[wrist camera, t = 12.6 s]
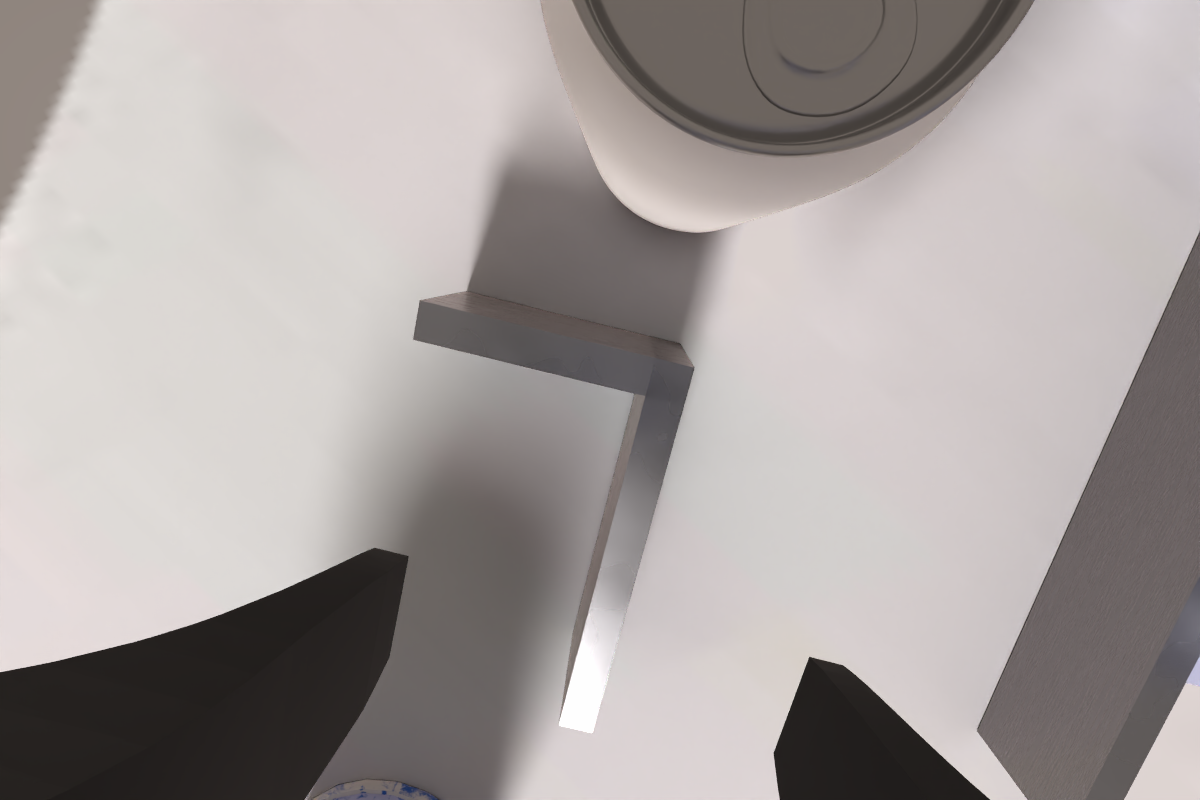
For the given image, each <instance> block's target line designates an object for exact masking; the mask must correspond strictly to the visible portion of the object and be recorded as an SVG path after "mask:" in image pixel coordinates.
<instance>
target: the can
mask: <svg viewBox="0 0 1200 800" xmlns="http://www.w3.org/2000/svg"><path fill="white" fill-rule="evenodd" d="M1033 2H1034V0H541V6H542V11H543V16H544V21H545V25H546V29H547V33H548V37H549V40H550V44H551V47H552V51H553V54H554V57H555V60H556V63H557V66H558V69H559V72H560V75H561V78H562V80H563V83H564V86H565V89H566V91H567V94H568V97H569V99H570V102H571V105H572V107H573V110H574V112H575V115H576V118H577V120H578V123H579V125H580V128H581V131H582V133H583V136H584V138H585V141H586V143H587V146H588V148H589V151H590V153H591V155H592V158H593V160H594V162H595V165H596V167H597V169H598V171H599V173H600V175H601V176H602V178H603V180H604V181H605V183H606V184H607V186H608V187H609V189H610V190H611V191H612V193H613V194H614V195H615V196H616V197H617V198H618V199H619V200H620V201H621V202H622V203H623V204H624V205H625V206H626V207H627V208H628V209H630V210H631V211H632V212H634V213H635V214H636V215H638V216H640V217H641V218H643V219H645V220H647V221H649V222H651V223H653V224H655V225H658V226H661V227H664V228H667V229H671V230H676V231H682V232H691V233H702V232H710V231H716V230H720V229H724V228H728V227H731V226H735V225H738V224H741V223H744V222H748V221H751V220H754V219H757V218H761V217H764V216H767V215H770V214H773V213H776V212H780V211H783V210H786V209H789V208H792V207H795V206H798V205H801V204H804V203H807V202H810V201H813V200H815V199H818V198H821V197H824V196H827V195H829V194H832V193H834V192H836V191H839V190H841V189H844V188H846V187H848V186H851V185H853V184H855V183H857V182H859V181H861V180H863V179H865V178H867V177H869V176H871V175H872V174H874V173H876V172H877V171H879V170H881V169H882V168H884V167H886V166H887V165H889V164H890V163H892V162H893V161H895V160H896V159H898V158H899V157H900V156H902V155H903V154H904V153H906V152H907V151H909V150H910V149H911V148H912V147H914V146H915V145H916V144H917V143H919V142H920V141H921V140H922V139H923V138H924V137H926V136H927V135H928V134H929V133H930V132H931V131H932V130H933V129H934V128H935V127H936V126H937V125H938V124H939V123H940V122H941V121H942V120H943V119H944V118H945V117H946V116H947V115H948V114H949V113H950V112H951V110H952V109H953V108H954V107H955V106H956V105H957V103H958V102H959V101H960V100H961V98H962V97H963V96H964V95H965V93H966V92H967V91H968V89H969V88H970V86H971V85H972V84H973V82H974V81H975V79H976V78H977V76H978V75H979V73H980V72H981V71H982V70H983V69H984V68H985V67H986V66H987V65H988V63H989V62H990V61H991V60H992V59H993V58H994V57H995V56H996V54H997V53H998V52H999V51H1000V50H1001V48H1002V47H1003V46H1004V45H1005V43H1006V42H1007V41H1008V39H1009V38H1010V37H1011V35H1012V34H1013V33H1014V31H1015V30H1016V29H1017V27H1018V26H1019V24H1020V23H1021V21H1022V20H1023V18H1024V17H1025V15H1026V13H1027V12H1028V10H1029V9H1030V7H1031V5H1032V4H1033Z"/></svg>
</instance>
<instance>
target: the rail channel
mask: <svg viewBox="0 0 1200 800" xmlns="http://www.w3.org/2000/svg"><path fill="white" fill-rule="evenodd" d="M413 340H417V341H421V342H425V343H430V344H434V345H438V346H442V347H446V348H450V349H454V350H458V351H462V352H466V353H470V354H475V355H479V356H483V357H487V358H491V359H495V360H499V361H503V362H507V363H511V364H515V365H519V366H524V367H528V368H532V369H536V370H540V371H544V372H548V373H552V374H556V375H560V376H564V377H569V378H573V379H577V380H581V381H585V382H589V383H593V384H597V385H601V386H605V387H609V388H614V389H618V390H622V391H626V392H630V393H634V394H635V395H634V399H633V402H632V406H631V410H630V414H629V418H628V422H627V426H626V430H625V433H624V437H623V441H622V445H621V449H620V453H619V457H618V460H617V464H616V468H615V472H614V476H613V480H612V484H611V487H610V491H609V495H608V499H607V503H606V507H605V511H604V514H603V518H602V522H601V526H600V530H599V534H598V538H597V542H596V545H595V549H594V553H593V557H592V561H591V565H590V569H589V572H588V576H587V580H586V584H585V588H584V592H583V596H582V599H581V603H580V607H579V611H578V615H577V619H576V623H575V626H574V630H573V635H572V641H571V648H570V654H569V661H568V668H567V674H566V681H565V687H564V694H563V701H562V707H561V714H560V720H559V725H560V726H564V727H568V728H572V729H576V730H580V731H585V732H589V733H593V730H594V726H595V723H596V719H597V715H598V712H599V708H600V705H601V701H602V697H603V694H604V690H605V687H606V683H607V680H608V676H609V672H610V669H611V665H612V662H613V658H614V654H615V651H616V647H617V644H618V640H619V637H620V633H621V629H622V626H623V622H624V619H625V615H626V611H627V608H628V604H629V601H630V597H631V594H632V590H633V586H634V583H635V579H636V576H637V572H638V568H639V565H640V561H641V558H642V554H643V551H644V547H645V543H646V540H647V536H648V533H649V529H650V525H651V522H652V518H653V515H654V511H655V508H656V504H657V500H658V497H659V493H660V490H661V486H662V482H663V479H664V475H665V472H666V468H667V465H668V461H669V457H670V454H671V450H672V447H673V443H674V439H675V436H676V432H677V429H678V425H679V422H680V418H681V414H682V411H683V407H684V404H685V400H686V396H687V393H688V389H689V386H690V382H691V379H692V375H693V371H694V366H693V364H692V363H691V361H690V359H689V358H688V356H687V354H686V353H685V351H684V349H683V348H682V346H681V344H679V343H675V342H671V341H667V340H663V339H659V338H655V337H651V336H647V335H643V334H639V333H635V332H631V331H626V330H622V329H618V328H614V327H610V326H606V325H602V324H598V323H594V322H590V321H586V320H582V319H578V318H573V317H569V316H565V315H561V314H557V313H553V312H549V311H545V310H541V309H537V308H533V307H529V306H525V305H520V304H516V303H512V302H508V301H504V300H500V299H496V298H492V297H488V296H484V295H480V294H476V293H472V292H467V291H465V292H460V293H455V294H450V295H445V296H440V297H434V298H429V299H424V300H420V302H419V308H418V314H417V320H416V326H415V332H414V338H413ZM1199 657H1200V235H1199V237H1198V239H1197V241H1196V243H1195V246H1194V248H1193V250H1192V252H1191V255H1190V257H1189V259H1188V261H1187V264H1186V266H1185V268H1184V270H1183V273H1182V275H1181V277H1180V279H1179V281H1178V284H1177V286H1176V288H1175V290H1174V293H1173V295H1172V297H1171V299H1170V302H1169V304H1168V306H1167V308H1166V310H1165V313H1164V315H1163V317H1162V319H1161V322H1160V324H1159V326H1158V328H1157V331H1156V333H1155V335H1154V337H1153V340H1152V342H1151V344H1150V346H1149V348H1148V351H1147V353H1146V355H1145V357H1144V360H1143V362H1142V364H1141V366H1140V369H1139V371H1138V373H1137V375H1136V377H1135V380H1134V382H1133V384H1132V386H1131V389H1130V391H1129V393H1128V395H1127V398H1126V400H1125V402H1124V404H1123V406H1122V409H1121V411H1120V413H1119V415H1118V418H1117V420H1116V422H1115V424H1114V427H1113V429H1112V431H1111V433H1110V436H1109V438H1108V440H1107V442H1106V444H1105V447H1104V449H1103V451H1102V453H1101V456H1100V458H1099V460H1098V462H1097V465H1096V467H1095V469H1094V471H1093V473H1092V476H1091V478H1090V480H1089V482H1088V485H1087V487H1086V489H1085V491H1084V494H1083V496H1082V498H1081V500H1080V503H1079V505H1078V507H1077V509H1076V511H1075V514H1074V516H1073V518H1072V520H1071V523H1070V525H1069V527H1068V529H1067V532H1066V534H1065V536H1064V538H1063V540H1062V543H1061V545H1060V547H1059V549H1058V552H1057V554H1056V556H1055V558H1054V561H1053V563H1052V565H1051V567H1050V570H1049V572H1048V574H1047V576H1046V578H1045V581H1044V583H1043V585H1042V587H1041V590H1040V592H1039V594H1038V596H1037V599H1036V601H1035V603H1034V605H1033V607H1032V610H1031V612H1030V614H1029V616H1028V619H1027V621H1026V623H1025V625H1024V628H1023V630H1022V632H1021V634H1020V636H1019V639H1018V641H1017V643H1016V645H1015V648H1014V650H1013V652H1012V654H1011V657H1010V659H1009V661H1008V663H1007V666H1006V668H1005V670H1004V672H1003V674H1002V677H1001V679H1000V681H999V683H998V686H997V688H996V690H995V692H994V695H993V697H992V699H991V701H990V703H989V706H988V708H987V710H986V712H985V715H984V717H983V719H982V721H981V724H980V726H979V728H978V730H977V732H978V733H979V734H980V736H981V737H982V738H983V740H984V741H985V742H986V744H987V745H988V747H989V748H990V749H991V751H992V752H993V753H994V755H995V756H996V757H997V759H998V760H999V761H1000V763H1001V764H1002V766H1003V767H1004V768H1005V770H1006V771H1007V772H1008V774H1009V775H1010V776H1011V778H1012V779H1013V780H1014V782H1015V783H1016V785H1017V786H1018V787H1019V789H1020V790H1021V791H1022V793H1023V794H1024V795H1025V797H1026V798H1027V799H1028V800H1124V799H1125V797H1126V795H1127V793H1128V791H1129V789H1130V787H1131V785H1132V783H1133V781H1134V780H1135V778H1136V776H1137V774H1138V772H1139V770H1140V768H1141V766H1142V764H1143V763H1144V761H1145V759H1146V757H1147V755H1148V753H1149V751H1150V749H1151V747H1152V745H1153V744H1154V742H1155V740H1156V738H1157V736H1158V734H1159V732H1160V730H1161V728H1162V727H1163V725H1164V723H1165V721H1166V719H1167V717H1168V715H1169V713H1170V711H1171V710H1172V708H1173V706H1174V704H1175V702H1176V700H1177V698H1178V696H1179V694H1180V692H1181V691H1182V689H1183V687H1184V685H1185V683H1186V681H1187V679H1188V677H1189V675H1190V674H1191V672H1192V670H1193V668H1194V666H1195V664H1196V662H1197V660H1198V658H1199Z"/></svg>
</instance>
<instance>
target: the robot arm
mask: <svg viewBox="0 0 1200 800" xmlns="http://www.w3.org/2000/svg"><path fill="white" fill-rule="evenodd" d="M408 557H409V556H405V555H401V554H397V553H393V552H389V551H385V550H381V549H377V548H373V549H371V550H368V551H366V552H364V553H361V554H359V555H357V556H355V557H353V558H351V559H349V560H346V561H344V562H342V563H340V564H338V565H336V566H334V567H332V568H330V569H327V570H325V571H323V572H321V573H319V574H317V575H314V576H312V577H310V578H308V579H306V580H303V581H301V582H299V583H297V584H295V585H292V586H290V587H288V588H286V589H284V590H281V591H279V592H276V593H274V594H271V595H269V596H266V597H264V598H261V599H259V600H256V601H254V602H251V603H249V604H246V605H244V606H241V607H239V608H236V609H234V610H231V611H229V612H227V613H224V614H221V615H218V616H216V617H213V618H210V619H207V620H204V621H201V622H199V623H196V624H193V625H190V626H187V627H183V628H180V629H177V630H174V631H170V632H167V633H164V634H161V635H157V636H154V637H151V638H147V639H144V640H140V641H137V642H133V643H129V644H125V645H121V646H117V647H113V648H109V649H105V650H100V651H96V652H92V653H88V654H84V655H80V656H76V657H72V658H68V659H64V660H60V661H55V662H51V663H46V664H41V665H36V666H31V667H26V668H20V669H15V670H10V671H5V672H0V800H304V799H305V798H306V796H307V795H308V793H309V792H310V790H311V789H312V787H313V786H314V784H315V783H316V781H317V780H318V778H319V777H320V775H321V774H322V772H323V771H324V769H325V768H326V766H327V765H328V763H329V762H330V760H331V758H332V757H333V755H334V754H335V752H336V751H337V749H338V748H339V746H340V745H341V743H342V742H343V740H344V739H345V737H346V736H347V734H348V732H349V731H350V729H351V728H352V726H353V725H354V723H355V722H356V720H357V719H358V717H359V715H360V714H361V712H362V711H363V709H364V707H365V705H366V703H367V701H368V699H369V697H370V695H371V693H372V691H373V689H374V687H375V685H376V683H377V681H378V679H379V677H380V675H381V673H382V671H383V669H384V667H385V665H386V663H387V661H388V659H389V656H390V651H391V646H392V641H393V635H394V630H395V625H396V620H397V615H398V609H399V604H400V599H401V594H402V588H403V583H404V578H405V573H406V568H407V562H408ZM1186 683H1188V684H1192V685H1196V686H1200V657H1199V658H1198V660H1197V662H1196V664H1195V666H1194V668H1193V670H1192V672H1191V674H1190V675H1189V677H1188V679H1187V681H1186ZM774 760H775V768H776V776H777V784H778V791H779V797H780V800H990V799H989V798H987V797H986V796H985V795H984V794H983V793H982V792H981V791H979V790H978V789H977V788H976V787H975V786H974V785H973V784H971V783H970V782H969V781H968V780H967V779H966V778H965V777H964V776H963V775H962V774H960V773H959V772H958V771H957V770H956V769H955V768H954V767H953V766H952V765H951V764H949V763H948V762H947V761H946V760H945V759H944V758H943V757H942V756H941V755H940V754H939V753H938V752H937V751H936V750H934V749H933V748H932V747H931V746H930V745H929V744H928V743H927V742H926V741H925V740H924V739H923V738H922V737H921V736H920V735H919V734H918V733H917V732H916V731H914V730H913V729H912V728H911V727H910V726H909V725H908V724H907V723H906V722H905V721H904V720H903V719H902V718H901V717H900V716H899V715H898V714H897V713H896V712H895V711H894V710H893V709H892V708H890V707H889V706H888V705H887V704H886V703H885V702H884V701H883V700H882V699H881V698H880V697H879V696H878V695H877V694H876V693H875V692H874V691H872V690H871V689H870V688H869V687H868V686H867V685H866V684H865V683H864V682H863V681H862V680H860V679H859V678H858V677H857V676H856V675H855V674H853V673H852V672H851V671H850V670H848V669H847V668H846V667H845V666H843V665H839V664H835V663H831V662H827V661H823V660H819V659H815V658H811V657H809V659H808V662H807V665H806V667H805V670H804V673H803V676H802V678H801V681H800V684H799V686H798V689H797V692H796V694H795V697H794V700H793V702H792V705H791V708H790V711H789V713H788V716H787V719H786V721H785V724H784V727H783V729H782V732H781V735H780V737H779V740H778V743H777V746H776V748H775V751H774Z"/></svg>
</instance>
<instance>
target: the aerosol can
mask: <svg viewBox="0 0 1200 800" xmlns="http://www.w3.org/2000/svg"><path fill="white" fill-rule="evenodd" d="M313 800H438V799H437V798H436V797H434V796H433V795H431V794H430V793H428V792H426V791H423V790H420V789H417V788H414V787H412V786H409V785H406V784H403V783H400V782H396V781H383V780H371V779H365V780H360V781H355V782H350V783H345V784H340V785H337V786H335V787H333V788H331V789H329V790H328V791H326V792H324V793H322V794H321V795H319V796H317V797H315V798H313Z"/></svg>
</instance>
